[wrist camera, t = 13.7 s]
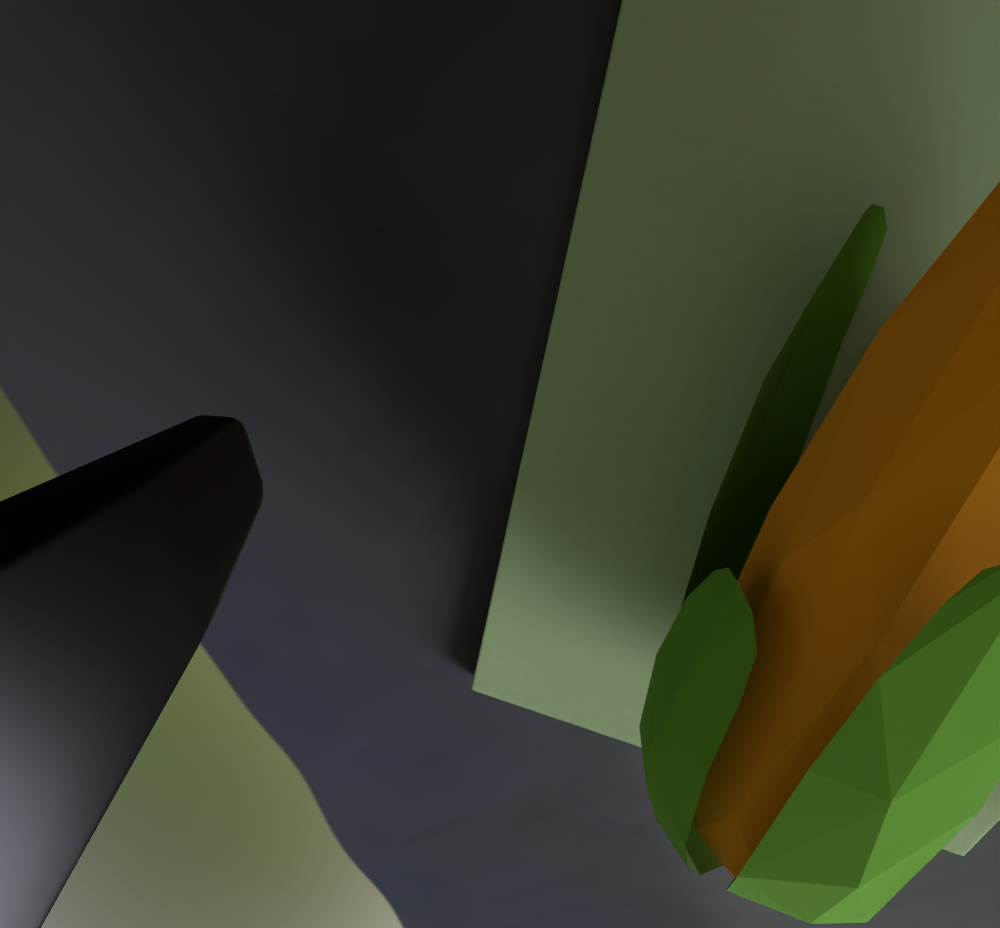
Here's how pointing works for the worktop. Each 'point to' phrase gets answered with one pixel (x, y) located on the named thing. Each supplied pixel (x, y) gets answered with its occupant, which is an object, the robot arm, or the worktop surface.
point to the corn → (846, 603)
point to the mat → (717, 301)
